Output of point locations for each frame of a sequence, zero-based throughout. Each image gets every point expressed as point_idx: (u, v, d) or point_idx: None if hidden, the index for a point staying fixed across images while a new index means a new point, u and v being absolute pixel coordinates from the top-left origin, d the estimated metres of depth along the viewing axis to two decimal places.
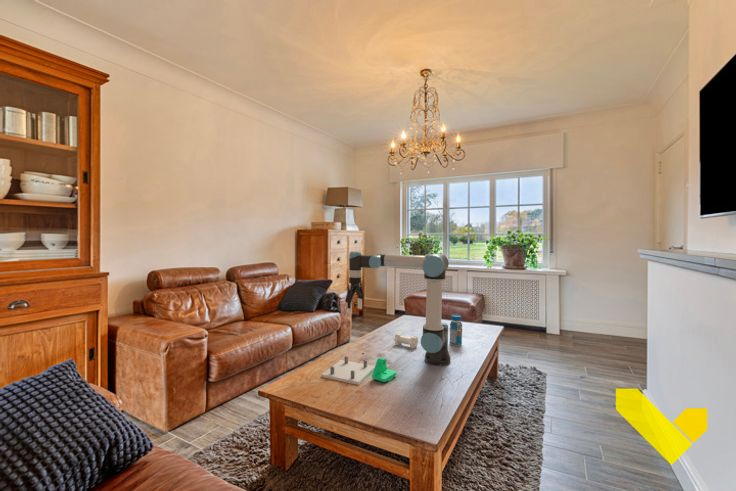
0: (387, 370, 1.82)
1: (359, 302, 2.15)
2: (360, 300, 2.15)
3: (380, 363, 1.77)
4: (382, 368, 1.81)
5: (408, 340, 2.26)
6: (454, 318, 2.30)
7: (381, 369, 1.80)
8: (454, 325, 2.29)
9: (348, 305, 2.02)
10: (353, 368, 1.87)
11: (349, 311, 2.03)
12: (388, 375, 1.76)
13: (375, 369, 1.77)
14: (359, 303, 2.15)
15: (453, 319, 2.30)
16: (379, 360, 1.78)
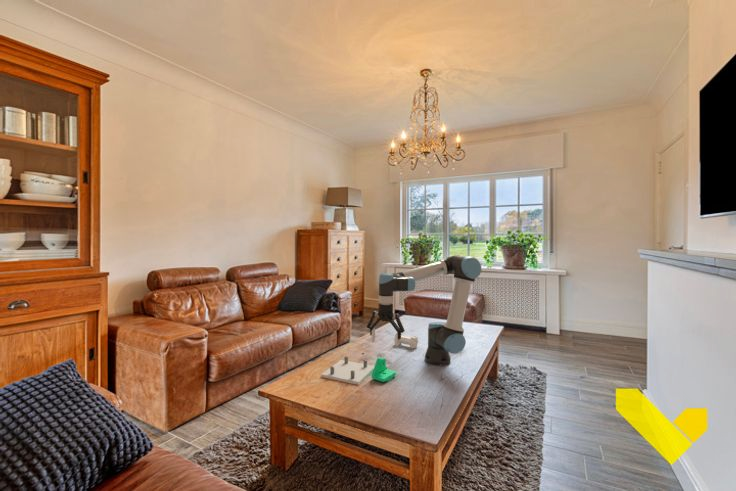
0: (386, 370, 1.83)
1: None
2: None
3: (379, 363, 1.77)
4: (381, 368, 1.81)
5: (408, 340, 2.25)
6: None
7: (380, 369, 1.80)
8: None
9: None
10: (353, 368, 1.87)
11: None
12: (387, 375, 1.76)
13: (375, 368, 1.77)
14: None
15: None
16: (378, 360, 1.78)
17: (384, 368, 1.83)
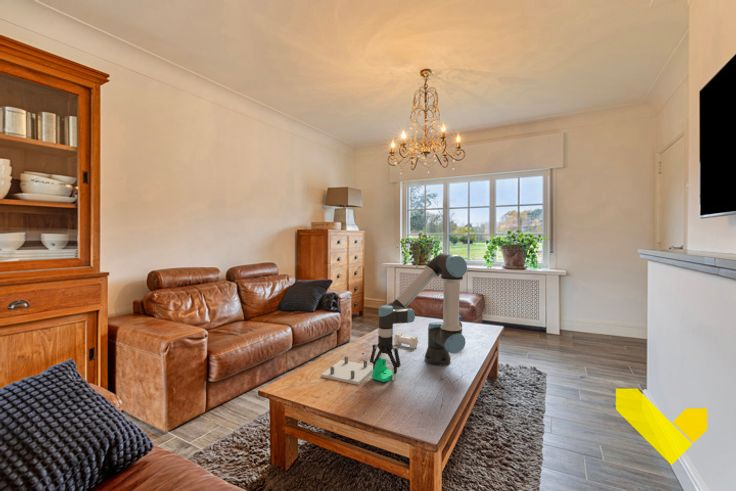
0: (387, 370, 1.82)
1: None
2: None
3: (380, 363, 1.77)
4: (382, 368, 1.81)
5: (408, 340, 2.25)
6: None
7: (380, 369, 1.80)
8: None
9: None
10: (353, 368, 1.87)
11: None
12: (388, 375, 1.76)
13: (375, 369, 1.77)
14: None
15: None
16: (379, 360, 1.78)
17: (384, 368, 1.82)
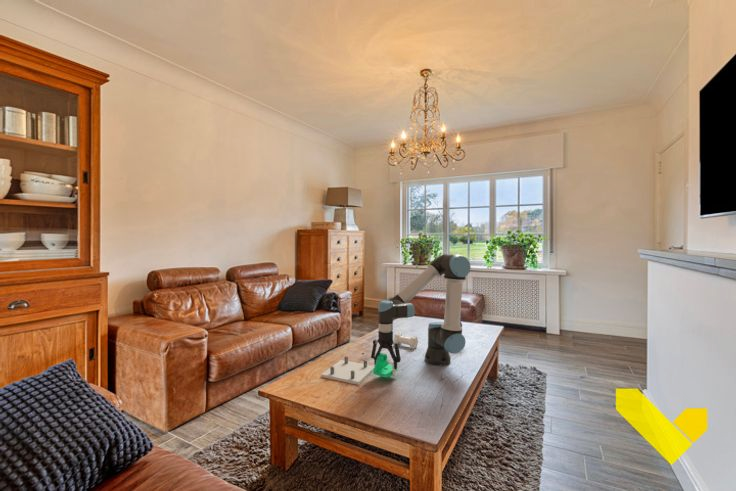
0: (388, 365, 1.82)
1: None
2: None
3: (381, 358, 1.77)
4: (383, 363, 1.81)
5: (408, 340, 2.25)
6: None
7: (382, 364, 1.80)
8: None
9: None
10: (353, 368, 1.87)
11: None
12: (389, 370, 1.76)
13: (376, 364, 1.77)
14: None
15: None
16: (380, 355, 1.78)
17: (385, 363, 1.82)
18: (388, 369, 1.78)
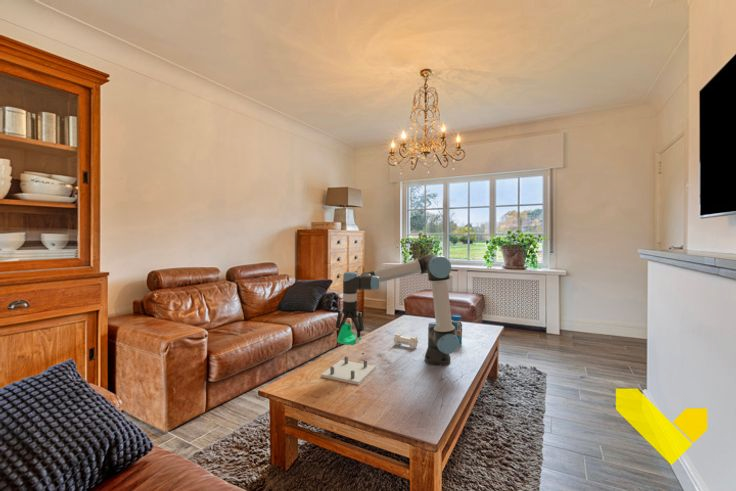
0: (352, 335, 1.88)
1: None
2: None
3: (345, 328, 1.83)
4: (347, 333, 1.86)
5: (408, 340, 2.25)
6: (454, 318, 2.30)
7: (346, 334, 1.85)
8: (454, 325, 2.29)
9: None
10: (353, 368, 1.87)
11: None
12: (352, 339, 1.82)
13: (340, 333, 1.82)
14: None
15: (453, 319, 2.30)
16: (344, 325, 1.84)
17: (350, 334, 1.88)
18: (352, 338, 1.83)
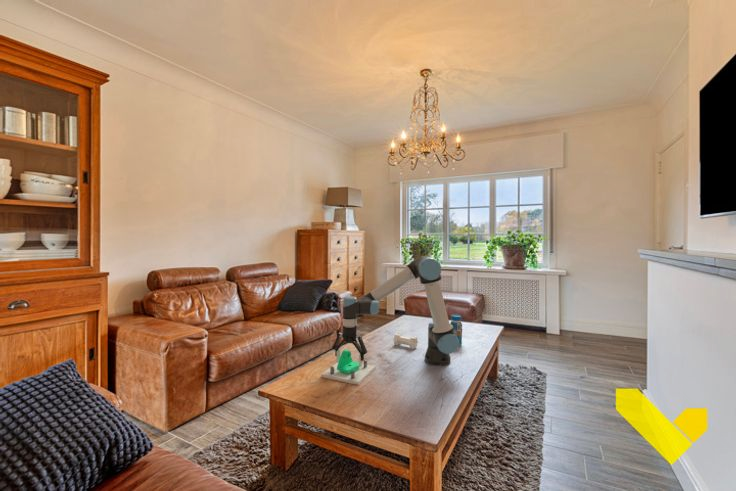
0: (352, 362, 1.89)
1: None
2: None
3: (345, 355, 1.83)
4: (347, 360, 1.87)
5: (408, 341, 2.24)
6: (454, 318, 2.30)
7: (346, 361, 1.86)
8: (454, 325, 2.29)
9: None
10: None
11: None
12: (352, 366, 1.82)
13: (340, 360, 1.83)
14: None
15: (453, 319, 2.30)
16: (344, 352, 1.84)
17: (350, 360, 1.89)
18: (352, 365, 1.84)
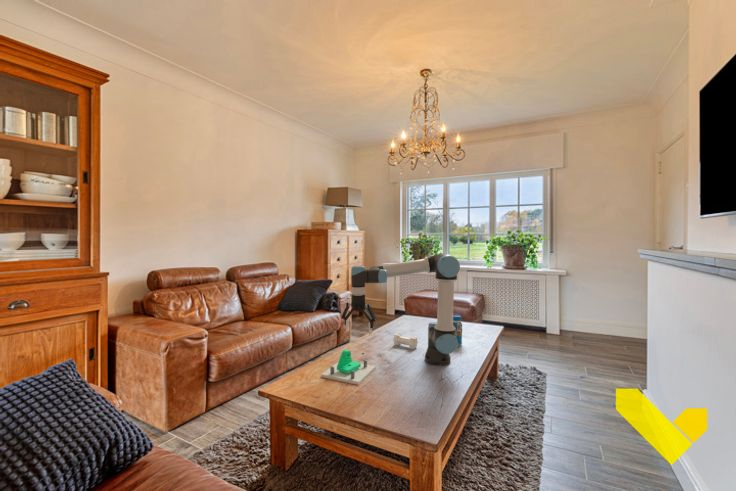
0: (352, 362, 1.89)
1: None
2: None
3: (345, 355, 1.83)
4: (347, 360, 1.87)
5: (407, 341, 2.24)
6: (454, 318, 2.30)
7: (345, 361, 1.86)
8: (454, 325, 2.29)
9: None
10: None
11: None
12: (352, 366, 1.82)
13: (340, 360, 1.83)
14: None
15: (453, 319, 2.30)
16: (344, 352, 1.84)
17: (349, 360, 1.89)
18: (351, 365, 1.84)
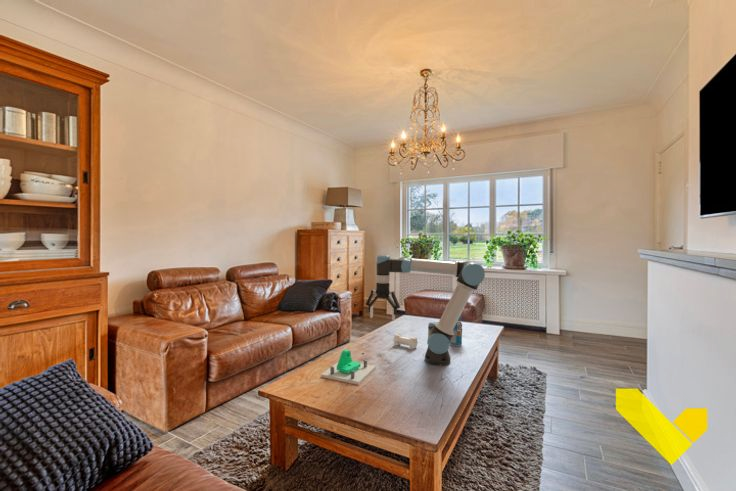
0: (352, 362, 1.89)
1: None
2: None
3: (344, 355, 1.83)
4: (347, 360, 1.87)
5: (407, 341, 2.24)
6: None
7: (345, 361, 1.86)
8: None
9: None
10: None
11: None
12: (352, 366, 1.82)
13: (339, 360, 1.83)
14: None
15: None
16: (343, 352, 1.84)
17: (349, 360, 1.89)
18: (351, 365, 1.84)
